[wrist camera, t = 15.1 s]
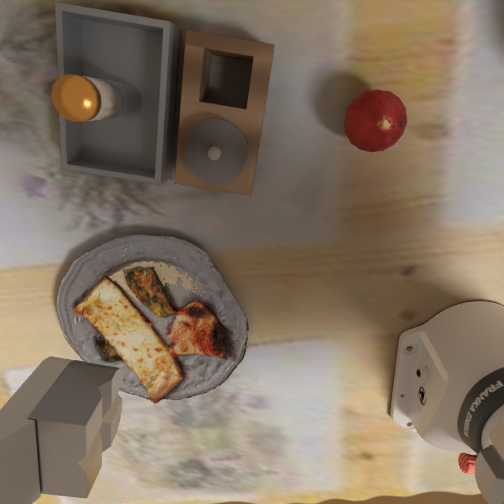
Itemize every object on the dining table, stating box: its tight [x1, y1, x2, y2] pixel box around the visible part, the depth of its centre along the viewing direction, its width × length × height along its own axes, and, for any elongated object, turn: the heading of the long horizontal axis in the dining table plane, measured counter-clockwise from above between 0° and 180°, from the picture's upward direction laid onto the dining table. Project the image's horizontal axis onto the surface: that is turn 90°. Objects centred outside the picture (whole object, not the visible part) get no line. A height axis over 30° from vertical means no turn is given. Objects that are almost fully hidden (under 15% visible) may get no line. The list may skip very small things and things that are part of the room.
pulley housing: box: [175, 30, 274, 196], centre depth 38 cm, size 14×8×8 cm, turn 171°
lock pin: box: [51, 74, 142, 122], centre depth 35 cm, size 3×3×12 cm
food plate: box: [57, 234, 249, 404], centre depth 50 cm, size 25×23×4 cm
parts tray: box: [55, 2, 181, 185], centre depth 39 cm, size 15×10×4 cm
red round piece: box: [345, 90, 407, 152], centre depth 37 cm, size 6×6×8 cm
